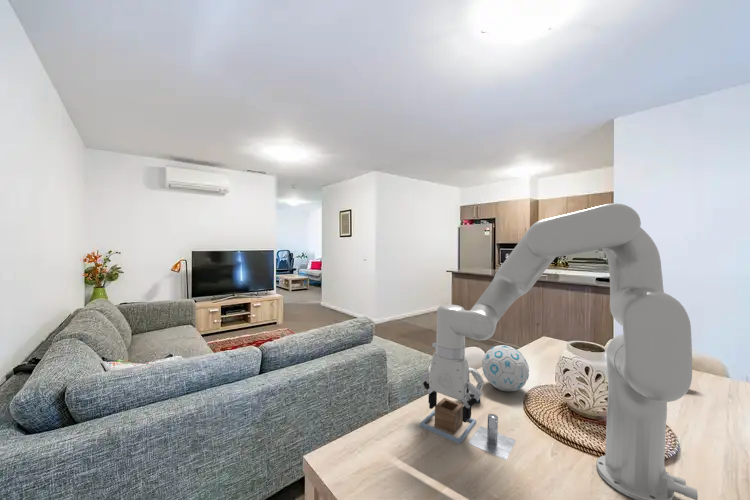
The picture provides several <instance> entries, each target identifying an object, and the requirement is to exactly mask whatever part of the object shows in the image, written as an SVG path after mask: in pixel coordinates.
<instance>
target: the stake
mask: <svg viewBox="0 0 750 500" xmlns="http://www.w3.org/2000/svg"><path fill="white" fill-rule="evenodd" d="M486 427H487V428H486ZM486 427H484V426H479V427H478V429H477V430H476V432H475V433H474V434H473V435H472V437H471V439H469V440H468V442H467V444H468V445H471V446H473V447H476V448H477V449H479V450H481V451H484V452H486V453H488V454H491V455H493V456H495V457H498V458H500V459H502V460H505V461H507V460H508V457H509V456H510V453H511V451H512V449H513V448H514V445H515V444H516V441H517V440H516V439H514V438H511V437H509V436H506V435H504V434H501V433H499V432H498V428H499V416H498V415H497V414H495V413H488V414H487V426H486Z"/></svg>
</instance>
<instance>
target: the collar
mask: <svg viewBox="0 0 750 500" xmlns="http://www.w3.org/2000/svg"><path fill="white" fill-rule="evenodd" d="M463 407H464V404H462V403H460V402H459V403H458V402H457V401H454V400H451V399H448V398H446V397H443V398H442V399H441V400H440V401H439V402H438V403H437V404H436V406H435V407H434V410H435V415H434V426H435V427H438V428H440V429H442V430H443V431H446V432H449V433H451V434H453V435H454V434H456V432H457V431H458V430H459V429H460V428H461V427H462V425H463V423H464V422H463Z"/></svg>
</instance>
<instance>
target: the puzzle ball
mask: <svg viewBox="0 0 750 500" xmlns="http://www.w3.org/2000/svg"><path fill="white" fill-rule="evenodd" d="M481 362H482V363H481V368H482V369H481V370H482V372H483V375H484V377H485V379H486V380H487V381H488V383H490V384H491V386H493V387H494V388H496V389H498V391H499V390H500V391H503V392H516V391H518V390H520V389H521V388H523V387H524V386H525V385H526V383H527V381H528V380H529V374H530V367H529V365H528V361H527V359H526V358H525V356H524V355H523V354H522V352H520V351H519V350H518V349H516V348H514V347H512V346H509V345H502V344H500V345H495V346H493V347H491V348H489V349H488V350H487V351H485V354H484V355H483V358H482V360H481Z"/></svg>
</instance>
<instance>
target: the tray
mask: <svg viewBox="0 0 750 500" xmlns="http://www.w3.org/2000/svg"><path fill="white" fill-rule="evenodd" d="M434 417H435V409H434V410H433V411H432V412H431V413H429V414H428V415H427V416H426V417H425V418H424V419H423V420H421V422H420V423H419V427H421V428H423V429H426V430H428V431H429V432H432V433H435V434H436V435H439V436H440V437H443V438H445V439H447V440H450V441H451V442H454V443H457V444H458V445H461V444H462V442H463V441H464V440H465V438H466V437H467V435H468V434H469V433H470V431H471V430H472V429H473V428H474V427H475V425H476V424H477V419H474V418H472V417H471V418H470V419H468V420H467V421H466V422H469V425H468V426H467V427H466V428H465V430H464V431H463V432H462V434H461V435H460V436H459V437H457V436H454V435H451V434H449V433H447V432H445V431H444V430H441V429H438V428H435V427H433V426H432V425H429V424H427V423H428V422H429V421H430V420H431V419H432V418H434Z"/></svg>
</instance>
